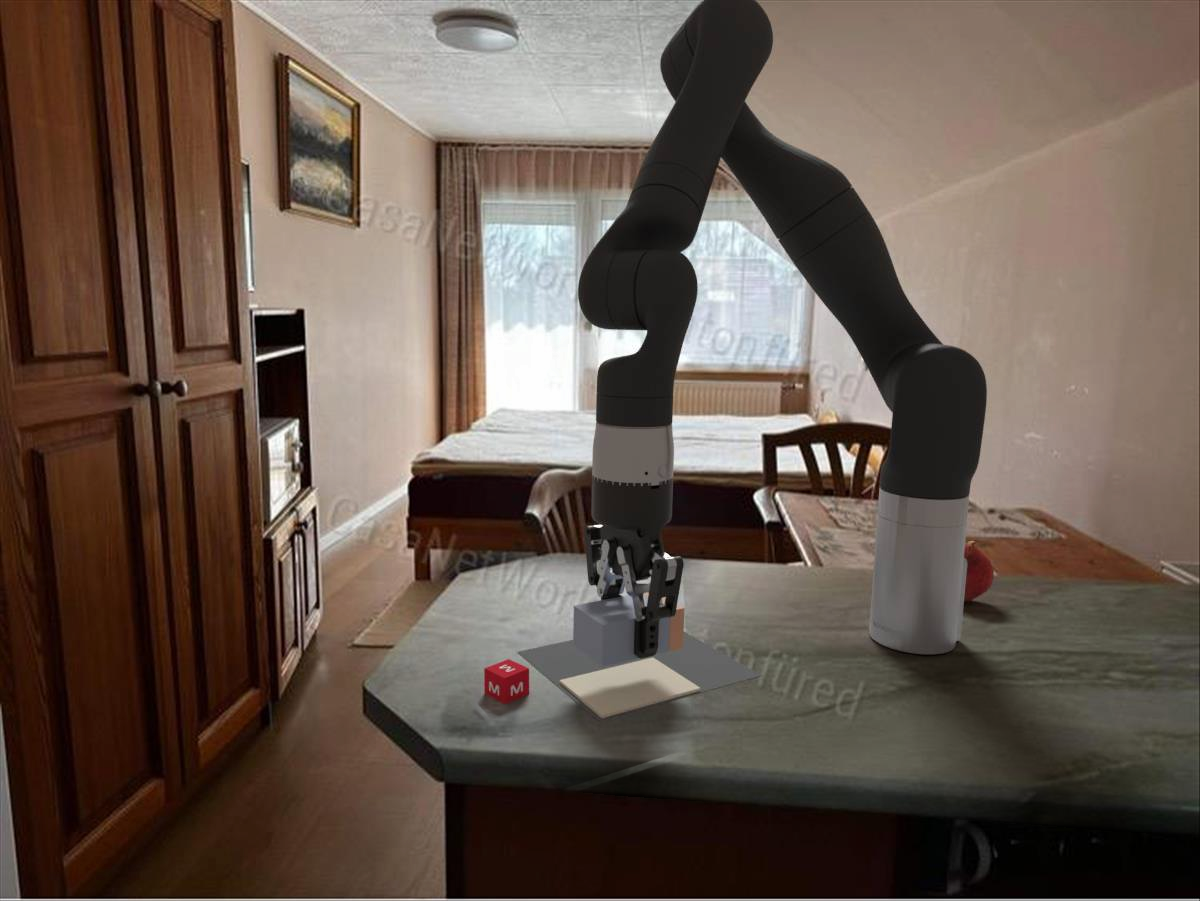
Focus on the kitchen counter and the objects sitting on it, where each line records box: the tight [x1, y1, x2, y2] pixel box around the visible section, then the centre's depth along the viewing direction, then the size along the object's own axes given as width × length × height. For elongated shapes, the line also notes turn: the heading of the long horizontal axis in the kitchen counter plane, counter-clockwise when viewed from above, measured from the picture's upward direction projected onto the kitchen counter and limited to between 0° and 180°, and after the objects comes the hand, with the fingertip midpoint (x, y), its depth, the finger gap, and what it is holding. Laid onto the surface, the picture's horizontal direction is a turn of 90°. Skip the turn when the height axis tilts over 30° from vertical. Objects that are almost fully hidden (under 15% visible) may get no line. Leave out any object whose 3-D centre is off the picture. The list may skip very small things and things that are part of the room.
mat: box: [516, 631, 763, 722], centre depth 83 cm, size 19×17×1 cm
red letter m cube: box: [483, 658, 530, 705], centre depth 76 cm, size 3×3×3 cm
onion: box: [964, 540, 995, 602], centre depth 104 cm, size 6×6×8 cm
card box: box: [572, 592, 685, 667], centre depth 77 cm, size 9×6×4 cm, turn 120°
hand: (628, 643), depth 78 cm, fingers closed on card box, 5 cm apart
